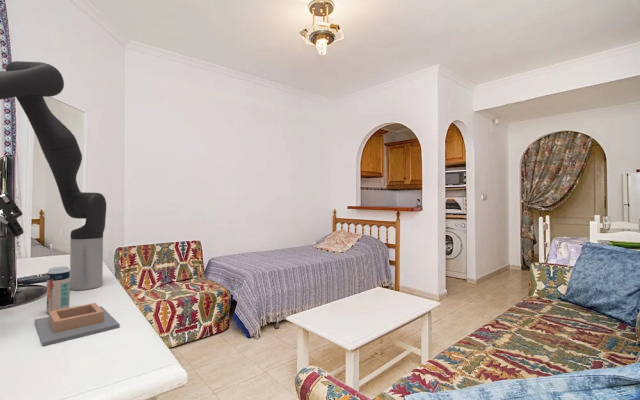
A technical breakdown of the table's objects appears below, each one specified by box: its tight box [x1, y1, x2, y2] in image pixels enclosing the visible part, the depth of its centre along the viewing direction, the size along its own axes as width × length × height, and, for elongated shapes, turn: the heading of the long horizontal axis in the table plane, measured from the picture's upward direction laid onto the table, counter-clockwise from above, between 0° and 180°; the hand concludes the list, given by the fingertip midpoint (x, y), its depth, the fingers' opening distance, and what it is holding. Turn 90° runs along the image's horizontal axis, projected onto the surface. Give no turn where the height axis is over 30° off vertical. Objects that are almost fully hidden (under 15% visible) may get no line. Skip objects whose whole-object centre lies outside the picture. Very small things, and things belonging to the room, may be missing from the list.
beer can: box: [46, 266, 71, 314], centre depth 86 cm, size 5×5×12 cm
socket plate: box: [34, 302, 120, 347], centre depth 77 cm, size 18×14×3 cm
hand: (3, 237), depth 74 cm, fingers open, 8 cm apart
